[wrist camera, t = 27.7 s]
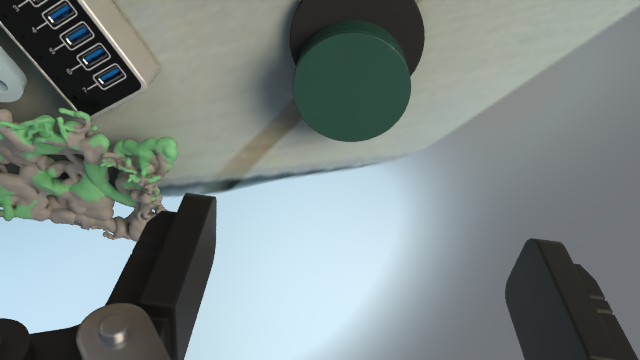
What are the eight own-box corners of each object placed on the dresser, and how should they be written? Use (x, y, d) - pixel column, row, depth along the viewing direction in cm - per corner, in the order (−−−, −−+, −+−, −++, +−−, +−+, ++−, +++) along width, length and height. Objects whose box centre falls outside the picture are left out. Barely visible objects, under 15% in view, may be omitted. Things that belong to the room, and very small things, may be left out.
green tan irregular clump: (194, 187, 26) (151, 292, 33) (210, 124, 29) (168, 232, 37) (-245, 59, 21) (-180, 218, 28) (-165, 0, 24) (-125, 156, 31)
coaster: (263, 33, 27) (262, 37, 26) (365, -63, 24) (365, -61, 23) (349, 121, 29) (349, 126, 29) (449, 44, 26) (451, 48, 26)
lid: (371, 140, 29) (373, 159, 28) (278, 98, 28) (273, 115, 26) (428, 51, 26) (434, 66, 24) (326, -2, 25) (324, 10, 23)
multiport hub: (101, 104, 29) (84, 123, 27) (-58, -87, 24) (-93, -80, 22) (163, 71, 28) (149, 89, 26) (8, -140, 22) (-23, -137, 21)
